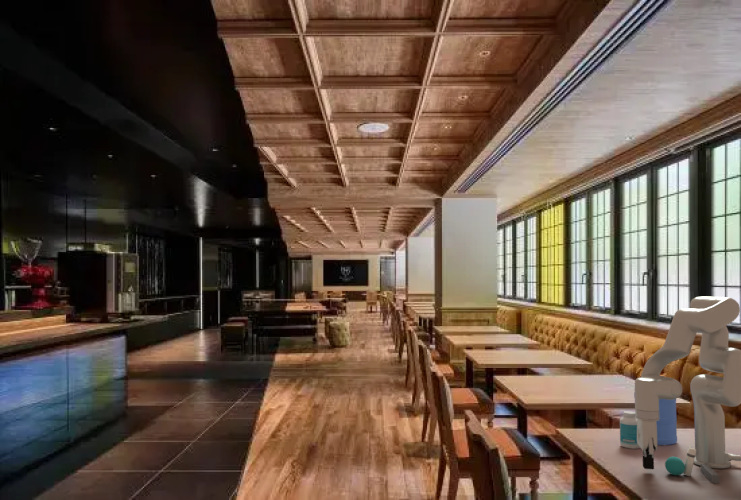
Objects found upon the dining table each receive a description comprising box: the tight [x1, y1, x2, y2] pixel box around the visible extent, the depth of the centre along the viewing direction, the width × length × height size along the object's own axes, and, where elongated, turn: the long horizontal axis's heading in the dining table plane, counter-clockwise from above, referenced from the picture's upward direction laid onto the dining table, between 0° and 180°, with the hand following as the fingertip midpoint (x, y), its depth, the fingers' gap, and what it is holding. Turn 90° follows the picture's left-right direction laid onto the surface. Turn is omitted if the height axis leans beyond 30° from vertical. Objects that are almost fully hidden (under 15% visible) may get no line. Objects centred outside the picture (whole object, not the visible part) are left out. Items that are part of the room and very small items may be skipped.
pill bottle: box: [619, 410, 641, 450], centre depth 233 cm, size 8×7×14 cm
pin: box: [682, 447, 696, 477], centre depth 199 cm, size 2×2×9 cm
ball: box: [664, 456, 685, 476], centre depth 200 cm, size 6×6×6 cm
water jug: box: [633, 391, 678, 446], centre depth 243 cm, size 16×16×28 cm
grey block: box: [700, 464, 720, 484], centre depth 198 cm, size 2×12×2 cm, turn 166°
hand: (648, 468), depth 202 cm, fingers closed
